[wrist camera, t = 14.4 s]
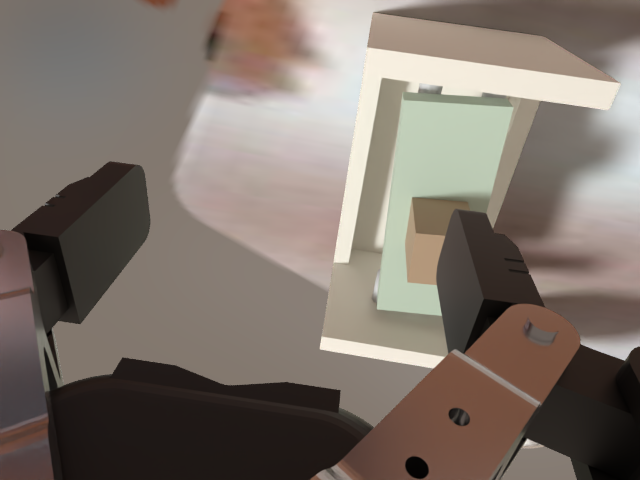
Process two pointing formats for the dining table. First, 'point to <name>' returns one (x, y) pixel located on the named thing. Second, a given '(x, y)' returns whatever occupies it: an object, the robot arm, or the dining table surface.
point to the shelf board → (435, 188)
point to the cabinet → (379, 151)
